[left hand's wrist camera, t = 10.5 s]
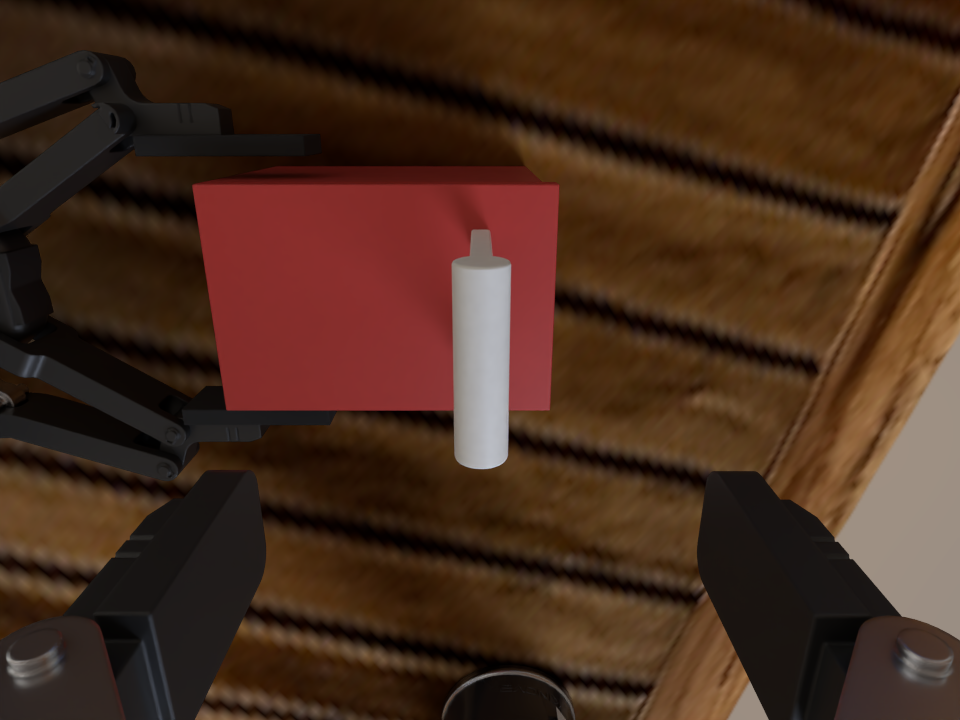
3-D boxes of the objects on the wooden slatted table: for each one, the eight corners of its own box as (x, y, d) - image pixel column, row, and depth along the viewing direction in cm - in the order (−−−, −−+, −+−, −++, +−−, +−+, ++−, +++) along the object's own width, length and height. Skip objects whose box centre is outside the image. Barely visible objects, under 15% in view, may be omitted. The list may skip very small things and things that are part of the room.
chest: (525, 166, 33) (542, 181, 24) (522, 333, 36) (535, 401, 27) (275, 166, 33) (201, 181, 24) (293, 333, 36) (234, 401, 27)
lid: (556, 182, 24) (593, 210, 16) (548, 402, 27) (575, 512, 19) (201, 182, 24) (69, 210, 16) (233, 402, 27) (136, 512, 19)
